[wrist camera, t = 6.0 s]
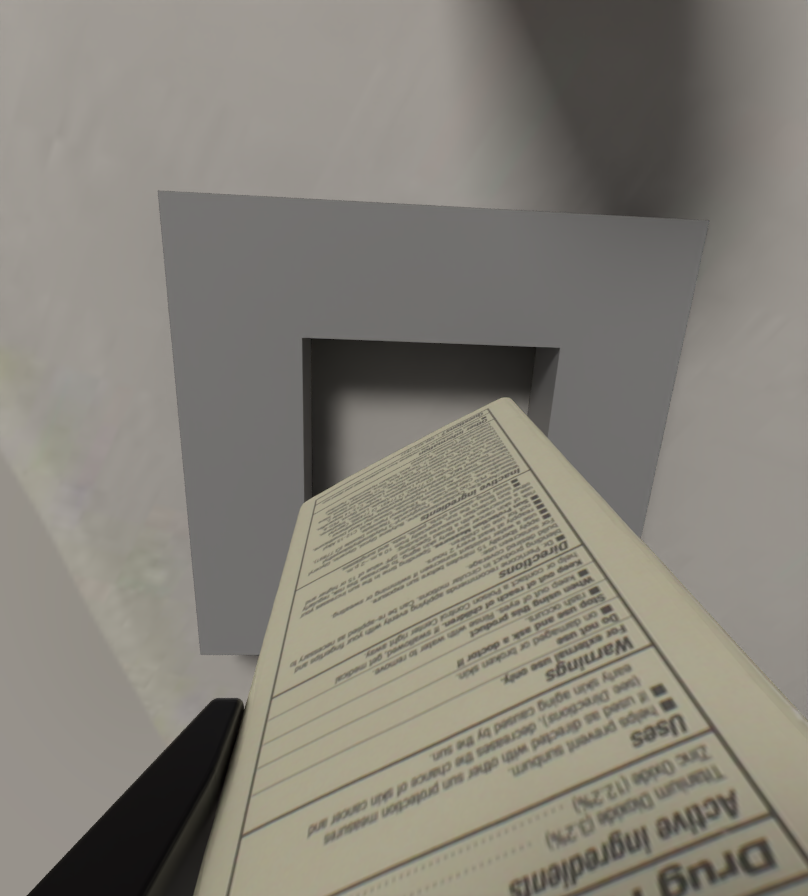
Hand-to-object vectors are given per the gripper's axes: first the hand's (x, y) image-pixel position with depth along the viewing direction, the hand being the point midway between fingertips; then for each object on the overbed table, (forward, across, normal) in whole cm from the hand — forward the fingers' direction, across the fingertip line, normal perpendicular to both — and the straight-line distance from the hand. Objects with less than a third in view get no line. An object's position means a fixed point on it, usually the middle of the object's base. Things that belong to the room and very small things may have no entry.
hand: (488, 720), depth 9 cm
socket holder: (+13, 0, 0) cm, 13 cm away
